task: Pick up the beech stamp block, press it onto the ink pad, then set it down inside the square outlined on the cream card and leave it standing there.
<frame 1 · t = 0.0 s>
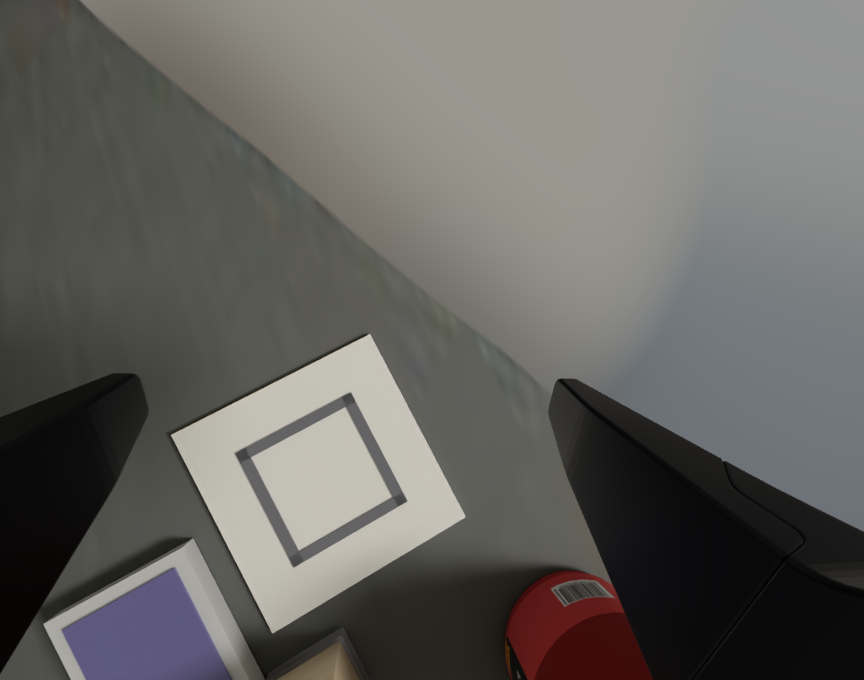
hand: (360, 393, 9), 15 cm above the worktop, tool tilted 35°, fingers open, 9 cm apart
ink pad: (168, 649, 21), on the worktop
canned food: (563, 631, 24), on the worktop
print card: (324, 476, 23), on the worktop
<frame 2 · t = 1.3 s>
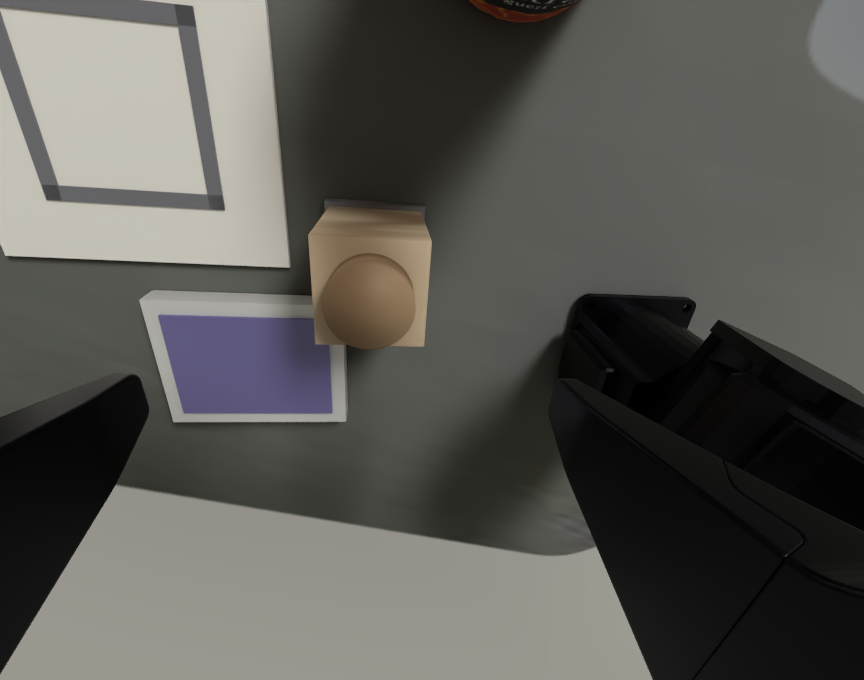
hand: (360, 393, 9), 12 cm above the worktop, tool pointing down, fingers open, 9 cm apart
stamp: (375, 248, 19), on the worktop
ink pad: (260, 355, 21), on the worktop
print card: (119, 110, 16), on the worktop
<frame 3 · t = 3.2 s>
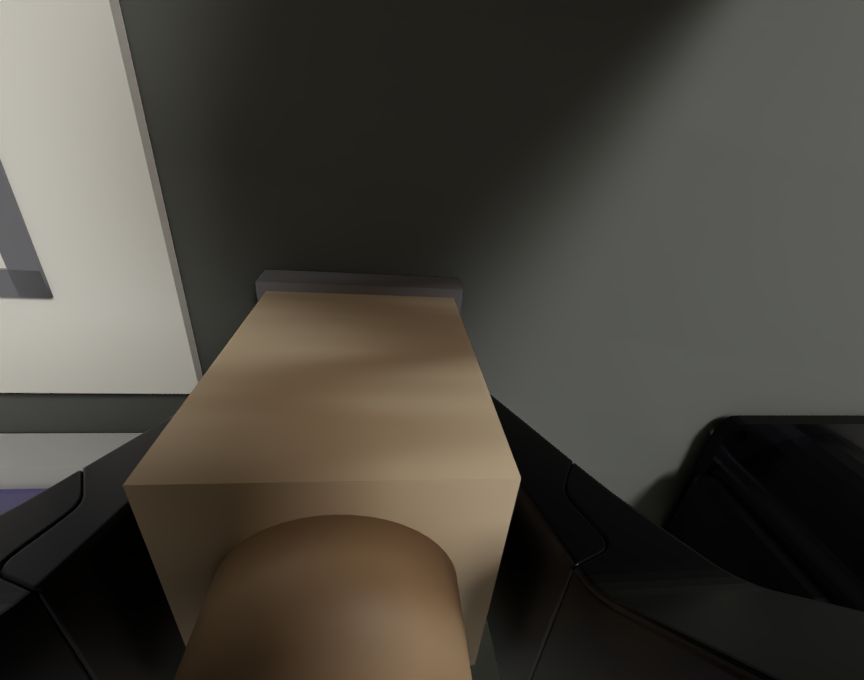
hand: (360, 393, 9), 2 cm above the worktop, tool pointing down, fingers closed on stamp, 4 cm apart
stamp: (364, 355, 10), on the worktop, touching gripper
ink pad: (166, 521, 12), on the worktop
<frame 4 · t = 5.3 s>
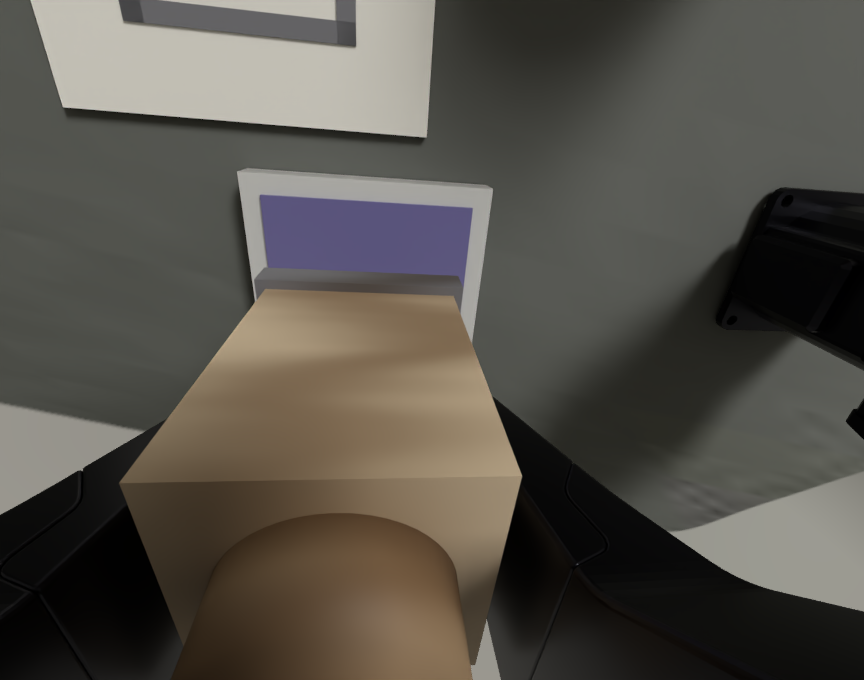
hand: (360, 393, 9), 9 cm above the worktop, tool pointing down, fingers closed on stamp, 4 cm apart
stamp: (364, 354, 10), point 8 cm above the worktop, touching gripper
ink pad: (370, 265, 17), on the worktop
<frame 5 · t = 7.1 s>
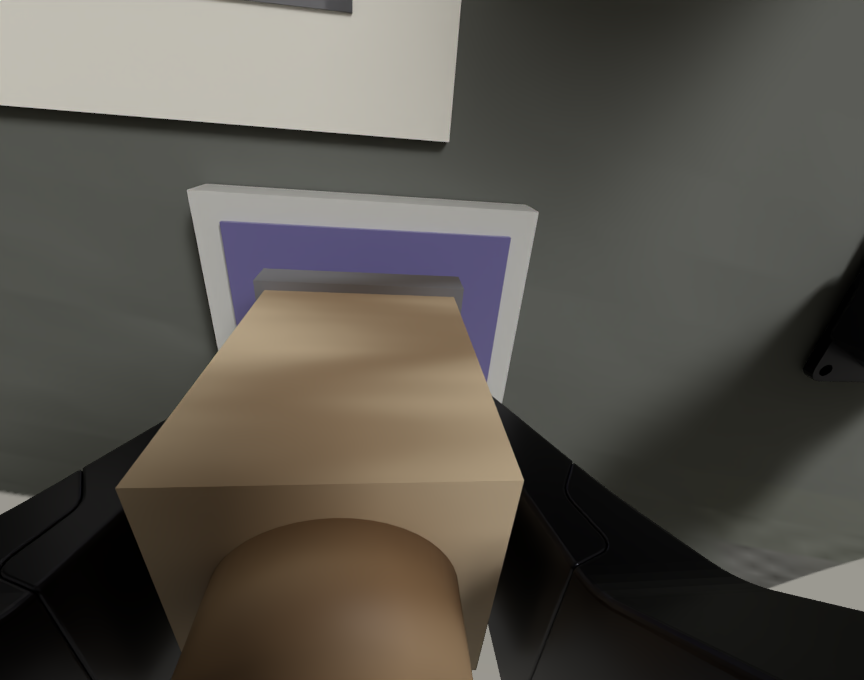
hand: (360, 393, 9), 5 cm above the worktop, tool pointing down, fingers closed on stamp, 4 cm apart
stamp: (363, 355, 10), point 3 cm above the worktop, touching gripper
ink pad: (372, 307, 13), on the worktop
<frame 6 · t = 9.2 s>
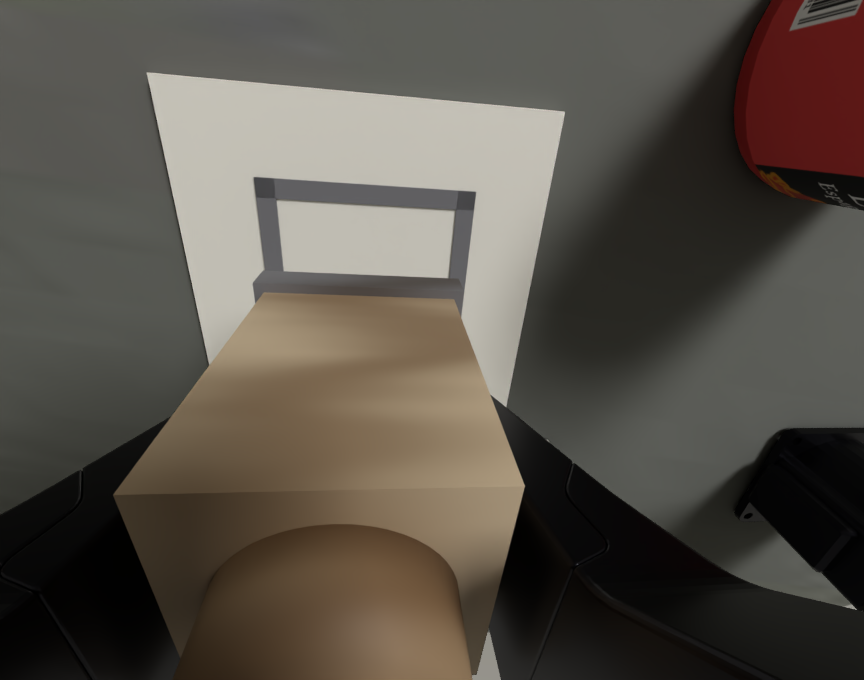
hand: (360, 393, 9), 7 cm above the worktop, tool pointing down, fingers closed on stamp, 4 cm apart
stamp: (363, 357, 10), point 5 cm above the worktop, touching gripper
canned food: (836, 66, 13), on the worktop
print card: (368, 284, 15), on the worktop
when the fingers open (2 cm above the worktop, at t = 11.0 s): stamp stays where it is, resting on print card.
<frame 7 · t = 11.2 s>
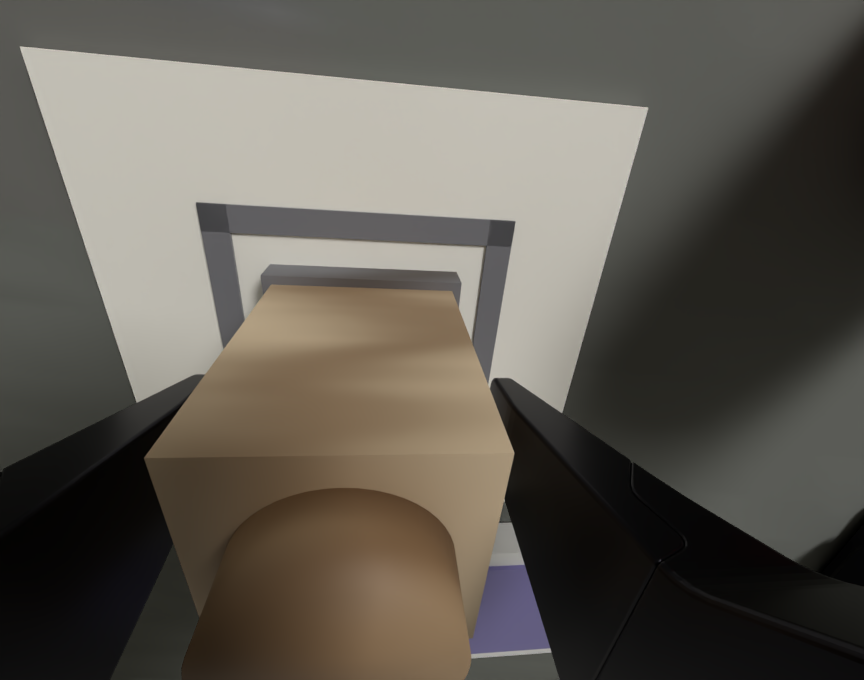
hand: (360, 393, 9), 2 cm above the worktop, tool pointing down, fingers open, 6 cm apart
stamp: (365, 348, 11), resting on print card
ink pad: (464, 581, 16), on the worktop
print card: (364, 342, 11), on the worktop
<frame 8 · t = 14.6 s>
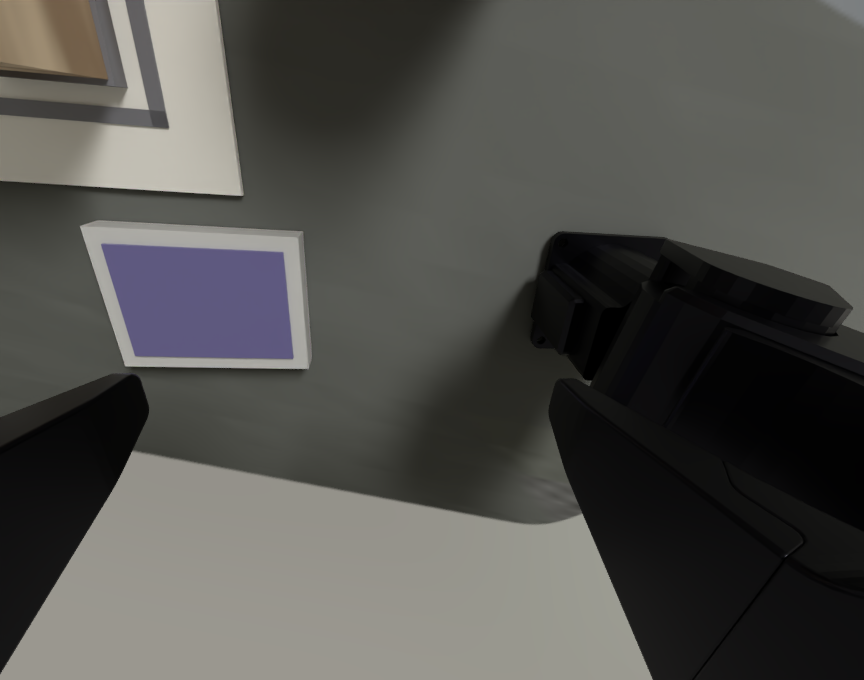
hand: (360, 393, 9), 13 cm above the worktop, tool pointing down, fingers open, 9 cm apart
stamp: (45, 10, 15), resting on print card
ink pad: (216, 296, 20), on the worktop
print card: (49, 12, 15), on the worktop
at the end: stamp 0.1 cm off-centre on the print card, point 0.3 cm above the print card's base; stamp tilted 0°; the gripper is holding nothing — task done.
